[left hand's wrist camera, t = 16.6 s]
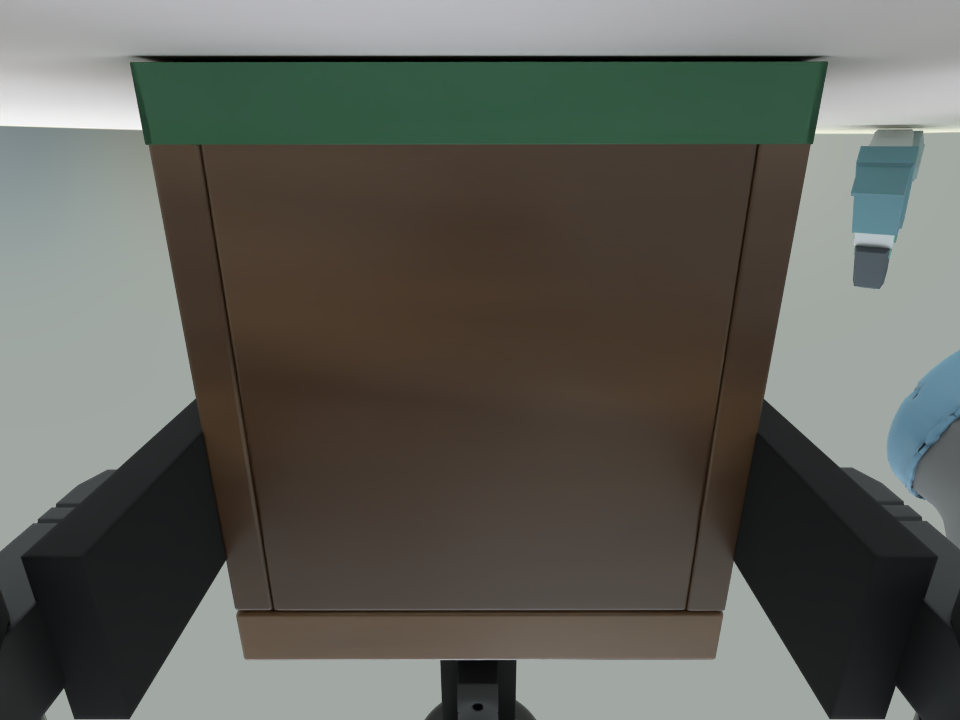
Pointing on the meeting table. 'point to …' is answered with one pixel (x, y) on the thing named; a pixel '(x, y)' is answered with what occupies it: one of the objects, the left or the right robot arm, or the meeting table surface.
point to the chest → (479, 319)
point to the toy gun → (882, 199)
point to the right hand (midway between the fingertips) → (478, 470)
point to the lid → (479, 634)
